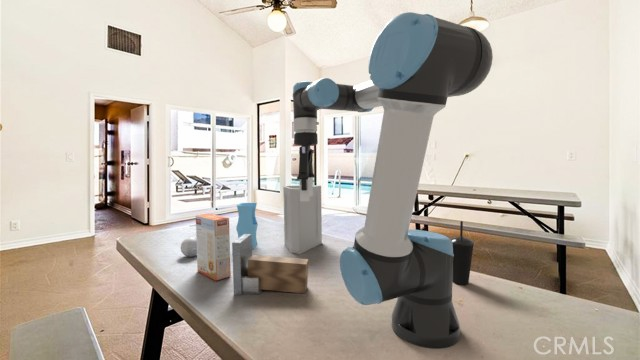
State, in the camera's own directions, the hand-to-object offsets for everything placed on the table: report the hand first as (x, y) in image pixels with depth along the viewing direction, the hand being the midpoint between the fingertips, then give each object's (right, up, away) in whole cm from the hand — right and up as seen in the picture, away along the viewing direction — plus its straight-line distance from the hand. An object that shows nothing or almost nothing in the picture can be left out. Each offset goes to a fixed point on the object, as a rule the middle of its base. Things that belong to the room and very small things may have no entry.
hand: (307, 198), depth 95 cm
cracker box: (-34, -28, +9) cm, 45 cm away
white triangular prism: (-6, -25, +42) cm, 50 cm away
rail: (-9, -28, -4) cm, 29 cm away
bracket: (-18, -28, -2) cm, 33 cm away
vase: (-30, -25, +43) cm, 58 cm away
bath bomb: (-51, -27, +29) cm, 64 cm away
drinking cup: (+50, -27, 0) cm, 57 cm away
